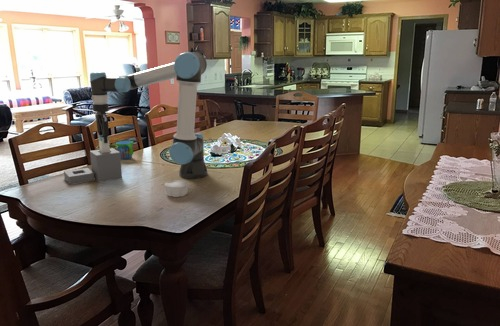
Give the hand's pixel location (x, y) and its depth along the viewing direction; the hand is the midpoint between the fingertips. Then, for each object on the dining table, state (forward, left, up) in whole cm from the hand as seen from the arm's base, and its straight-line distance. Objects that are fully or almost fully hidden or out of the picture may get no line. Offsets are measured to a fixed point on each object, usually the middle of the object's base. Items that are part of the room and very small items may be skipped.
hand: (104, 148), depth 211 cm
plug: (0, 0, -5) cm, 5 cm away
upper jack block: (0, 0, -16) cm, 16 cm away
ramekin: (-45, -19, -16) cm, 51 cm away
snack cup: (+34, -22, -16) cm, 44 cm away
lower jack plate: (+4, +13, -16) cm, 21 cm away
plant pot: (+23, -8, -16) cm, 29 cm away
